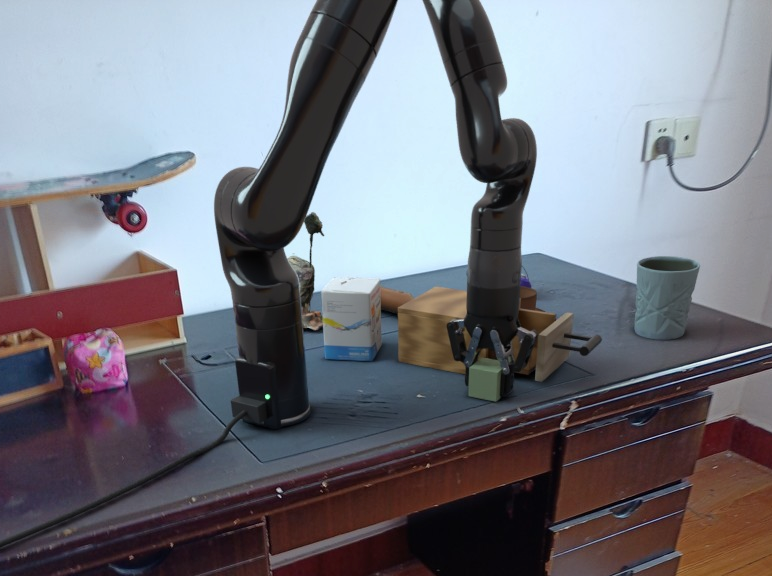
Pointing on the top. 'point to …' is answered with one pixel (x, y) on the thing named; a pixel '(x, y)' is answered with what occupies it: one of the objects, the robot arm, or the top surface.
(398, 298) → the sunglasses case
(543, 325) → the drawer
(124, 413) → the top surface
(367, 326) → the ink box
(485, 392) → the block
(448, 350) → the cabinet
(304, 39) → the robot arm
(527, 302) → the cup and saucer
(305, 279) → the plant with pod
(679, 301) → the drinking glass
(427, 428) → the top surface
